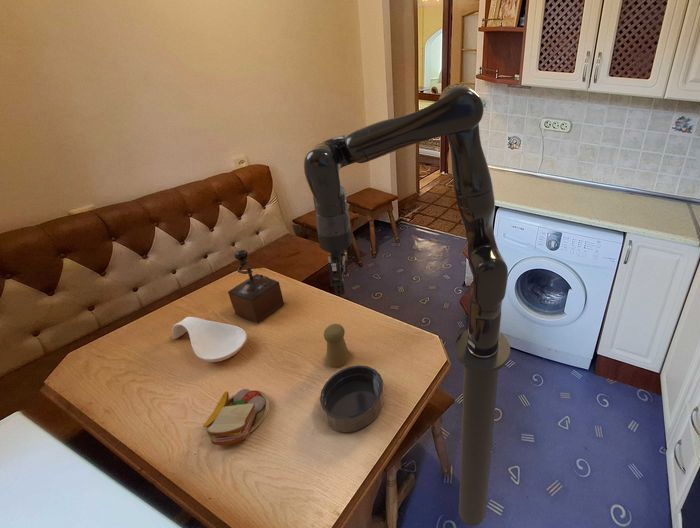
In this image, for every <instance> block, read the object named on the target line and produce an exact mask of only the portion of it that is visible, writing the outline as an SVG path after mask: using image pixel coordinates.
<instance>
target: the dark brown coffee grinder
mask: <svg viewBox="0 0 700 528" xmlns="http://www.w3.org/2000/svg"><path fill="white" fill-rule="evenodd" d="M248 255H249V254H248V251H247V250H246V249H238V250H237V251H236V252H235V253H234V254H233V257H234V259H236V260H237V261H239V266H238V267H237V269H236V270H237V273H239V274H244V275H248V277H249V278H248V279H246V280H244V281H242V282H241V283H239V284H237V285H236V286H234V287H233V288H231V289H229V290H228V291H227V294H228V296H229V300H230V303H231V306H232V309H233V311H234V314H235V315H236V316H237V317H238V318H241V319H244V320H246V321H249V322H252V323H254V324H256V325H259V324H260V323H261V322H263V321H265V320H266V319H268V318H269V317H270V316H272V314H274V313H276V312H277V311H279V309H281V308H282V307H283V306H284V305H285V301H284V298H283V293H282V290H281V289H282V288H281V285H280V282H279V281H278V280H275V279H273V278H270V277H268V276H265V275H263V274H258V273H256V274H254V275H253V270H252V267H251V266H247V267H246V270H242V269H243V268H244V266H246V265H247V264H248V263H249V262H250V260H249V259H248Z"/></svg>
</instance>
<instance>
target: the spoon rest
mask: <svg viewBox="0 0 700 528" xmlns="http://www.w3.org/2000/svg"><path fill="white" fill-rule="evenodd" d="M186 333H188V337H189V341H190V344H191V349H192V351H193V353H194V354H195V356H196V357H197V358H199V359H200V360H201V361H204V362H207V363H217V362H221V361H226V360H228V359H229V358H231V357H233V356H234V355H236V354H237V353H238V352H239V351H240V350H241V349H242V348H243V347H244V345H245V344H246V342H247V339H248V335H247V331H245V329H243V328H242V327H239V326H237V325H233V324H229V323H224V322H218V321H213V320H208V319H204V318H199V317H196V316H186V317H185V318H184V319H182V320H181V321H179V322H177V323H175V324H174V325H173V326H172V329H171V338H172V339H173V340H175V339H179V338H180V337H181V336H183V335H185V334H186Z"/></svg>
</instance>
